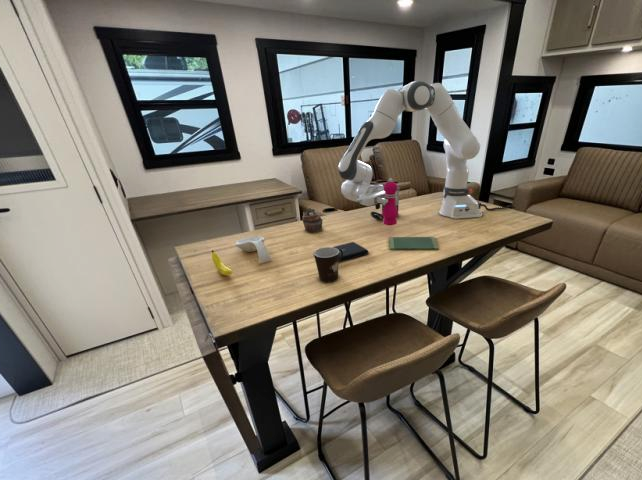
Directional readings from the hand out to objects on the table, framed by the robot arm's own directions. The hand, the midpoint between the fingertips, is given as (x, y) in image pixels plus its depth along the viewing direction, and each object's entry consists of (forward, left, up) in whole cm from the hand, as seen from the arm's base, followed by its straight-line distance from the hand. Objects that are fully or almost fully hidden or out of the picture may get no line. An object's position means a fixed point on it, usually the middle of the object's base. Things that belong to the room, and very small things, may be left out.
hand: (391, 199), depth 140 cm
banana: (+62, +41, -16) cm, 76 cm away
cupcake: (+38, -6, -16) cm, 41 cm away
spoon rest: (+57, +22, -16) cm, 63 cm away
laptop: (+21, +24, -16) cm, 35 cm away
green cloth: (-9, +12, -16) cm, 22 cm away
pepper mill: (+1, -1, -11) cm, 11 cm away
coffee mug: (+22, +43, -16) cm, 51 cm away
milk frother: (+3, -25, -16) cm, 29 cm away
